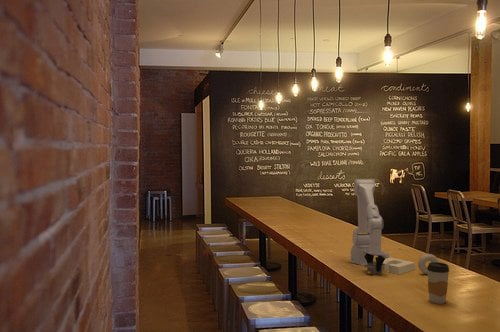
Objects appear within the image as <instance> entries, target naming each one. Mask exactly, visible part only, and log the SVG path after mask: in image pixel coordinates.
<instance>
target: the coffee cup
mask: <svg viewBox="0 0 500 332" xmlns="http://www.w3.org/2000/svg"><path fill="white" fill-rule="evenodd" d="M427 267H428V268H427V270H428V274H427V287H428V288H427V289H428V290H427V291H428V300H429V302H431V303H433V304H437V305H438V304H439V305H443V304H445V303H446V302H447V293H448V286H449V285H448V284H449V275H450V274H449V273H450V267H449V264H447V263H443V262H440V261H439V262H431V261H430V262H429V263H428V264H427Z"/></svg>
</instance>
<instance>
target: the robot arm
mask: <svg viewBox="0 0 500 332" xmlns="http://www.w3.org/2000/svg"><path fill="white" fill-rule="evenodd" d="M375 189H376V181H375V179H373V178H372V179H358V178H357V179H355V180H354V181H353V195H355V196H356V198H357V221H358V223H357V228H355V229H354V230H353V231H352V238H351V239H352V246H351V248H350V260H349V263H351V264H357V265H360V266H365V265H368V263H371V262H374V259H375V261H376V264H377V272H379V271H381V267H382V264H383V262H384V260H385V259H387V258H390V254H389V253H386V252H384V251H382V230H384V226H385V225H384V219H383V217H382V215H380V211H379V208H378V205H377V204H375V199H374V192H375Z"/></svg>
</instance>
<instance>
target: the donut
mask: <svg viewBox="0 0 500 332" xmlns="http://www.w3.org/2000/svg"><path fill="white" fill-rule="evenodd" d="M417 262H418V263H417V267H418V269H419V271H420V272H421V273H423V274H425V275H428V270H427V268H428V266H426V263H427V262H430V263H431V262H439V263H440V261H439V259H438V258H437V256H436V255H434V254H432V253H425V254H423V255H422V256H421V257H419V259H418V261H417Z"/></svg>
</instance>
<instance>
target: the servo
mask: <svg viewBox="0 0 500 332" xmlns="http://www.w3.org/2000/svg"><path fill="white" fill-rule="evenodd" d="M382 265H385V264H384V263H383V264H382ZM364 267H365V268H367V271H366V272H367V274H368V275H372V276H377V275H380V274H382V273H383V271H382V267H381V271H379V272H377V264H376V260H375V261H373V262H371V263H368V265H364Z"/></svg>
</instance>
